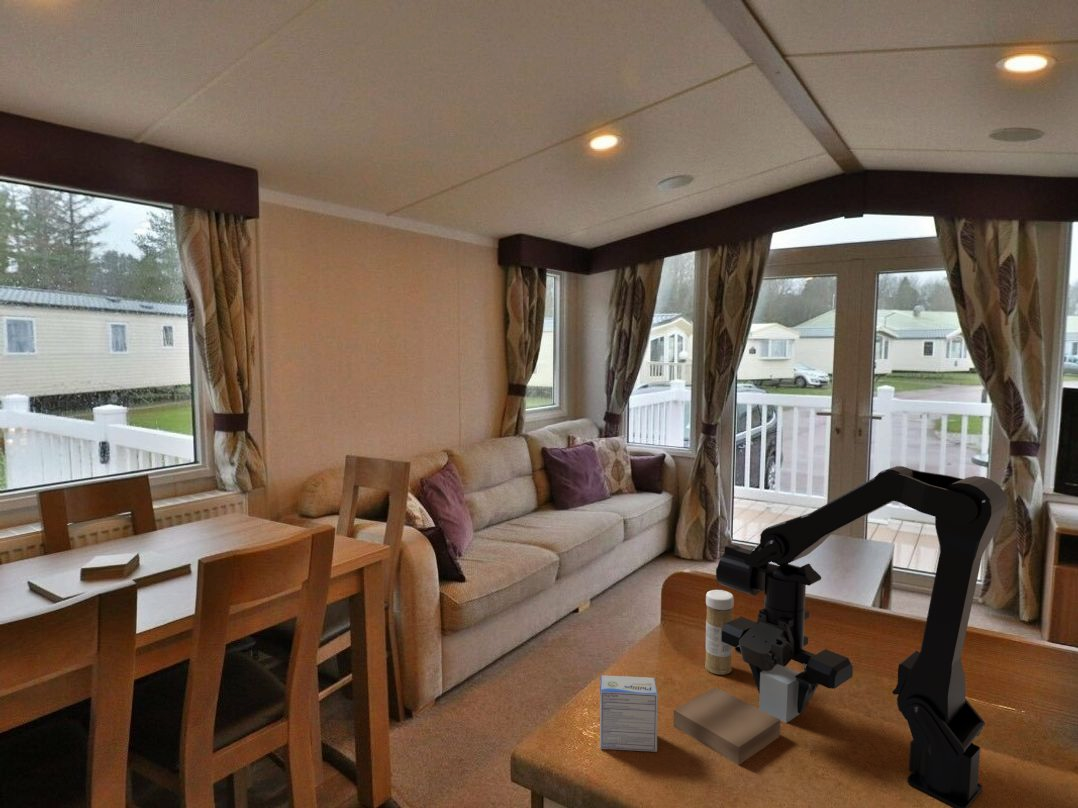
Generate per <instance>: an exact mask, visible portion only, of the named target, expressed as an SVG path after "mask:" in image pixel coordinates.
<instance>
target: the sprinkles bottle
mask: <svg viewBox="0 0 1078 808" xmlns="http://www.w3.org/2000/svg"><path fill="white" fill-rule="evenodd" d="M734 600H735V598H734V595H733V594H732V593H731V592H729V591H726V590H723V589H712V590H709V591H707V592H706V594H705V604H706V620H705V662H704V666H705V669H706V671H708V672H709V673H711V674H714V675H722V676H724V675H728V674H729V673H731V672H732V670H733V668H732V653H733V646H731V645H728V644H726V643H724V642H722V641H721V629H722V627H723V625H724V624H725V623H728V622H730V621H732V620H733V610H734V606H735V605H734V604H735V603H734V602H735V601H734Z"/></svg>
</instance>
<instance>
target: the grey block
mask: <svg viewBox="0 0 1078 808" xmlns="http://www.w3.org/2000/svg"><path fill="white" fill-rule="evenodd" d="M799 673H800V672H798V671H796V670H794V669H791V668H789V667H786V666H785V667H783V666H781V665H776V666H774V668H773V669H772V670H770V671H764V670H763V671H762V672H760V694H759V698H758V699H759V700H758V701H759V703H758V709H760V710H762V711H764V712H766V713H768V714H770V715H772V716H774V717H776V718H778V719H780V722H783V723H785V724H787V723H788V722H790V721H792V720H793V719H794V718H796V717H797V716H800V714H799V713H798V710H797V700H798V687H799V682H798V681H797V679H796V678H795V676H796V675H797V674H799Z"/></svg>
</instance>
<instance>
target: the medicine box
mask: <svg viewBox="0 0 1078 808" xmlns="http://www.w3.org/2000/svg"><path fill="white" fill-rule="evenodd" d="M656 681H657V680H656V678H654V677H643V676H626V675H624V676H623V675H605V674H604V675H601V676H600V684H599V685H600V687H599V692H600V693H599V749H601V750H615V751H619V750H620V751H636V752H637V751H639V752H653V753H657V752H658V716H659V715H658V713H659V711H658V708H659V693H658V688H657V683H656Z"/></svg>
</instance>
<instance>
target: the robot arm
mask: <svg viewBox="0 0 1078 808" xmlns="http://www.w3.org/2000/svg"><path fill="white" fill-rule="evenodd" d="M1008 500H1009V499H1008V496H1007V493H1006V491H1004V489H1003V488H1002V487H1001V486H1000V485H999V484H998V483H997V482H996V481H994V480H992V479H990V478H987V477H985V476H977V475H975V476H974V475H973V476H968V477H965V478H961V477H956V476H953V475H947V474H940V473H934V472H928V471H921V470H917V469H914V468H913V469H912V468H909V467H906V466H902V465H896V466H893V467H890V468H886V469H884V470H881V471H880V472H878V473H877V474H876V475H875V476H874V477H872V478H871V479H869V480H867V481H866V482H864V483H861V484H860V485H858V486H857V487H855V488H853V489H851V490H849V491H846V493H844V494H842V495H841V496H839V497H837V498H835V499H833V500H831V501H830V502H828V503H825V504H824V505H822V506H820V507H818V508H817V509H816V510H813V511H812V512H810V513H805V514H803V515H800V516H797V517H794V518H791V519H787V520H785V521H782V522H778V523H776V524H773V525H770V526H768V527H766V528H764V529H763V530H762V531H761V533H760V534H759V535H760V540H759V544H758V545H757V546H756V547H755V548H754V549H753V550H751V549H747V548H744V547H741V546H739V545H737V544H733V543H731V544H728V545H725V546H724V549H723V551H724V552H723V554H722V555H721V557H720V558H719V560H718V564H717V566H716V568H715V577H716V581H717V583H718V584H719V585H721V586H724V587H726V588H729V589H732V590H735V591H738V592H742V593H744V594H748V595H751V596H757V595H759V594H760V593H761V592H764V600H763V601H764V603H763V604H764V605H763V606H764V607H763V608H762V609H759V611H758V614H757V620H756V621H754V620H752V619H749V618H746V617H744V616H739V617H736V618H735V619H732V621H730V622H728V623H725V624H724V625H723V627H722V629H721V641H722V642H724V643H726V644H728V645H731V646H732V648H734V650H735V652H736V653H738V654H739V655H741V658H742V661H743V662H744V663H746V664H748V666H749V668H750V670H751V675H752V676H753V679H754V682H755V686H756V689H757V692H758V694H759V695H760V672H762V671H763V670H764V671H770V670H772V669H773V668H774V666H776V665H781V666H783V667H786V666H787V665H788V664H789V663H790V662H791V661H794V662H797V663H799V664H802V665H803V666H802V669H803V671H801V672H798V673H799V674H797V675H796V676H795V678H796V679H797V681H798V682H799V687H798V700H797V710H798V713H799V715H800V714H801V715H802V714H803V713H804V712H805V710H806V708H807V706H808V704H809V703H810V701H811V699H812V697H813V695H814V693H815V691H816V690H817V689H818V687H819V685H820V686H822V687H825V688H827V689H833V690H834V689H837V688H838V687H839V686H841V685H843V684H845V683H846V682H847V681H849V680H850V679H852V678H853V676H854V675H853V672H854V671H853V670H854V666H853V663H852V661H851V659H849V657H848V656H847V657H846V655H845V656H844V655H842V654H839V653H836V652H834V651H833V650H832V651H831V650H829V649H827V648H825V649H823V650H821V651H820V652H818V653H813V652H810V651H807V650H805V649H804V647H805V646H807V645H808V644H809V637H808V636H805V621H806V620H807V619H809V618H810V611H809V610H807V609H806V589H807V588H806V587H807V586H811V585H814V584H815V583H817V582H819V581H821V580H822V576H821V575H820V574H819V573H818V572H817V571H816V570H815V569H814V568H813V567H812V565H811V564H810V563H806V564H804V565H802V566H799V565H794V564H791V563H793V562H794V561H795V562H796V561H797V560H800V559H802V558H804V557H806V556H808V555H809V554H811V553H812V552H813V551H814V550H816V549H817V548H818V547H820V545H822V544H823V543H824V542H825V541H826V540H827V539H828V538H829V537H830V536H831V535H832V534H833V533H835V532H836V531H839V530H840V529H842V528H844V527H847V526H848V525H850V524H852V523H855V522H856V521H858V520H860V519H862V518H864V517H866V516H868V515H870V514H871V513H874V512H876V511H877V510H880V509H882V508H883V507H885V506H887V505H888V504H892V503H893V502H897V503H900V504H902V505H905V506H906V507H908V508H911V509H912V510H915V511H917V512H919V513H921V514H925V515H928V516H931V517H935V518H934V520H935V523H934V525H935V531H936V536H937V541H938V544H939V554H938V555H939V556H938V561H937V566H936V570H935V575H934V581H933V584H932V585H933V586H932V591H931V595H930V601H929V605H928V611H927V616H926V622H925V625H924V630H923V636H922V640H921V641H922V642H921V647H920V650H919V651H918V650H914V651H913V652H912V653H911V654H909V655H908V656H907V657H906V658H905V659H904V660H902V661H901V662H900V663H899V664H898V668H897V684H896V687H895V688H894V689H893V690H892V694H893V695H897V698H896V704H897V709H898V711H899V712H900V713H901V714H902V716H903V717H904V719H905V720H906V721H907V724H908V727H909V731H910V733H911V737H912V740H910V742H909V743H910V744H909V760H908V770H909V771H910V772H911V773H910V775H908V776H907V779H906V782H907V784H908V785H911V786H912V787H914V788H916V789H918V790H920V791H921V792H924V793H926V794H928V795H930V796H932V797H933V798H936V799H938V800H940V801H941V802H944V803H946V804H947V805H950V806H952V807H953V808H969V807H970V806H971V804H972V803H973V802H974V801H975V800H976V798H978V796H979V795H980V794H981V793H982V791H983V785H982V784H981V783H980V782H979V771H980V770H979V768H980V756H981V746H979V745H976V744H974V743H973V742H974V741H975V739H976V738H977V737H978V736H979V735H980V733H982V731H983V730H984V727H985V726H986V722H985V720H983V718H982V717H981V716H980V714H979V713H978V712H977V711H976V710H975V708H974V707H973V706H972V705H971V703H970V702H969V701H968V700H967V698H966V676H965V671H964V668H963V664H962V653H963V649H964V643H965V639H966V635H967V630H968V626H969V625H968V624H969V619H970V615H971V611H972V606H973V601H974V598H975V597H974V596H975V592H976V587H977V584H978V583H977V582H978V577H979V573H980V568H981V563H982V558H983V555H984V553H985V551H986V549H987V548H988V546H989V544H990V542H991V541H992V538H993V537H994V535H995V534H996V532H997V530H998V527H999V526H1000V524H1001V521H1002V519H1003V517H1004V515H1005V512H1006V511H1007V508H1008V504H1009V503H1008Z"/></svg>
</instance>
